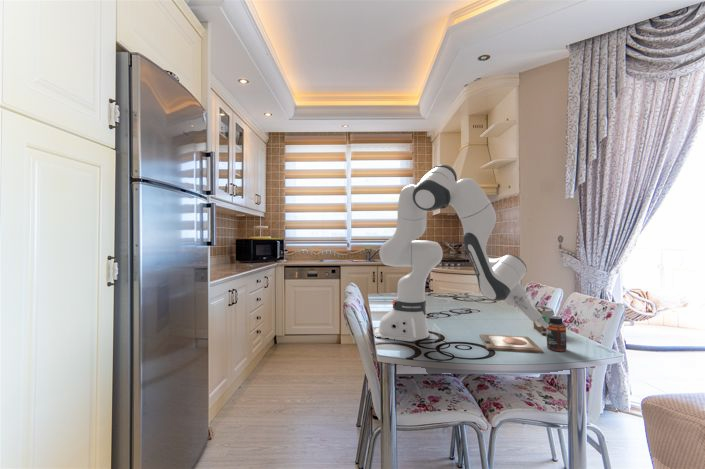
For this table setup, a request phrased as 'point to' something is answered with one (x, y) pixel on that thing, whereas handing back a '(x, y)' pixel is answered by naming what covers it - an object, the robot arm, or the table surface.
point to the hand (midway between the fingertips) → (544, 323)
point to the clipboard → (510, 343)
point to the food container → (545, 314)
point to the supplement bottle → (556, 334)
